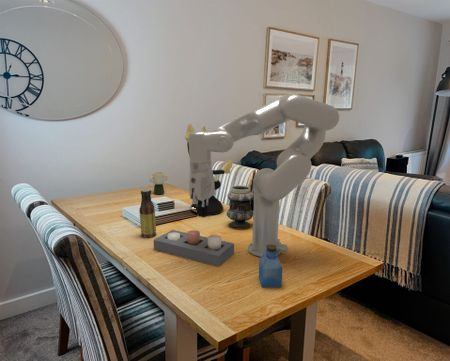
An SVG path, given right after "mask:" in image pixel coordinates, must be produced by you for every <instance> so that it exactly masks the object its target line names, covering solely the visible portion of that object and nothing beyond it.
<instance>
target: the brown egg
mask: <svg viewBox="0 0 450 361" xmlns="http://www.w3.org/2000/svg"><path fill="white" fill-rule="evenodd" d="M186 233H187V244H190V245H195V246H196V245H198V244H199V243H200V236H201V232H200V231H198V230H188V231H187V232H186Z"/></svg>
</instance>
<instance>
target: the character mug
mask: <svg viewBox="0 0 450 361" xmlns="http://www.w3.org/2000/svg"><path fill="white" fill-rule="evenodd" d="M151 173H152V176H149V182H150V183H153V184H154V185H153V194H155V195H162V194H164V193H165V188H164V184H165V181H168V175H167V174H165V172H163V171H155V172H151Z"/></svg>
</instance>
